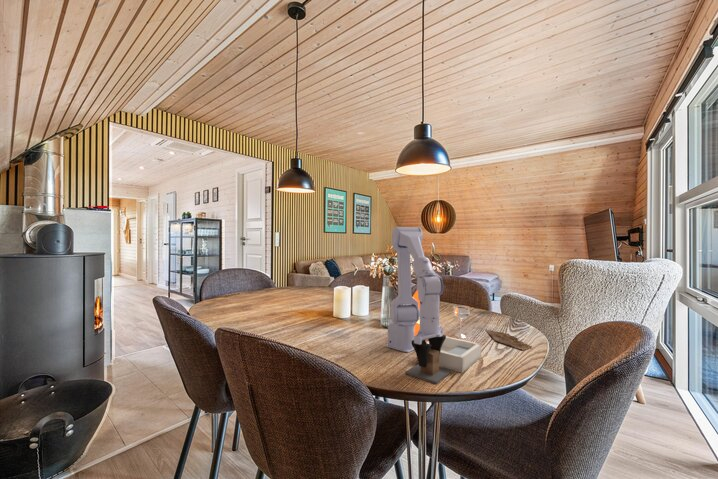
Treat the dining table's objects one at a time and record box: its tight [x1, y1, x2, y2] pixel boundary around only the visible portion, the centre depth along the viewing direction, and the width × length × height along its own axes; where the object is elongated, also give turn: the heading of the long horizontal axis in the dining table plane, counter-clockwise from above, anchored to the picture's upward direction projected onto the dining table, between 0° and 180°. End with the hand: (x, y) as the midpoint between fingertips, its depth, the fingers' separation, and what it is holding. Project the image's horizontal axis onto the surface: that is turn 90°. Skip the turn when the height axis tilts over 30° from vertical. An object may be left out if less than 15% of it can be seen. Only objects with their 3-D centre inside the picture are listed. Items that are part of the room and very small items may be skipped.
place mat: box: [404, 363, 453, 385], centre depth 94 cm, size 10×10×1 cm
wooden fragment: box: [485, 329, 533, 352], centre depth 127 cm, size 26×11×1 cm, turn 4°
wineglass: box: [452, 304, 471, 339], centre depth 131 cm, size 7×7×12 cm
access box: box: [426, 335, 482, 373], centre depth 106 cm, size 15×16×4 cm
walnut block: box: [420, 349, 440, 375], centre depth 94 cm, size 4×4×6 cm
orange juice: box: [412, 290, 420, 336], centre depth 131 cm, size 8×9×20 cm
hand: (428, 362), depth 94 cm, fingers open, 7 cm apart
